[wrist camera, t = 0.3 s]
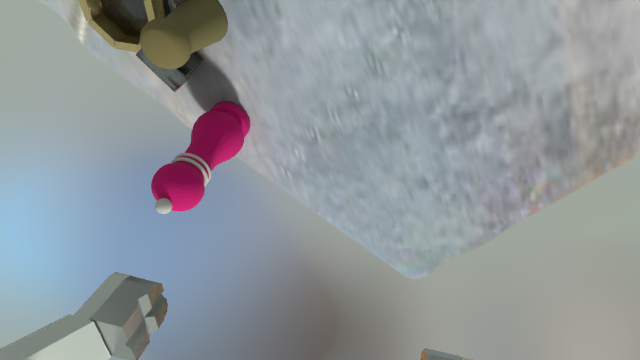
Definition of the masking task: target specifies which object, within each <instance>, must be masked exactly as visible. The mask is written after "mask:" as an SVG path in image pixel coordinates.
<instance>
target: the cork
mask: <svg viewBox="0 0 640 360" xmlns="http://www.w3.org/2000/svg"><path fill="white" fill-rule="evenodd" d="M227 26H228V21H227V17H226V13H225V11H224V9H223V8H222V6H221V5H220V4H219V2H218V1H217V0H184V1H183V2H182V3H180V4H179V5H178V6H177V7H176V8H175V9H174V10H173V11H172V12H171V13H170V14H169V15H168V16H167V17H166V18H155V19H153V20H151V21H149V22H147V23H146V25H145V26H144V27H143V28H142V30H141V34H140V45H141V48H142V50H143V53H144V54H145V55H146V57H147V58H148V59H149V60H150V61H151V62H152V63H153V64H155V65H156V66H158V67H161V68H164V69H176V68H179V67H181V66H183V65H184V64H185V63H186V62H187V61H188V60H189V58H190V55H191V53H193V52H195V51H198V50H200V49H202V48H204V47H206V46H209V45H211V44H213V43H215V42H217V41H220V40H221V39H222V38H223V37H224V36H225V34H226V32H227Z"/></svg>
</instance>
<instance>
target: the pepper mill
mask: <svg viewBox="0 0 640 360" xmlns="http://www.w3.org/2000/svg"><path fill="white" fill-rule="evenodd" d="M249 129H250V120H249V118H248V115H247V114H246V112H245V111H244V110H243V109H242V108H241V107H240V106H238V105H236V104H234V103H231V102H220V103H218V104H216V105H215V106H214V107H213V108H212V109H211V110H210V111H209V112H206V113H204V114H203V115H201V116H200V117H199V118H198V119H197V121H196V122H195V124H194V126H193V130H192V135H191V144H190V146H189V147H188V149H187V150H186V152H185V153H181V154H179V155H177V156H176V157H175V159H174V160H172V162H171V163H170V164H167V165H164V166H163V167H161V168H160V169H159V170H158V171H157V172H156V174H155V175H154V177H153V180H152V184H151V188H152V193H153V196H154V197H155V199H156V200H157V202H156V205H155V208H156V210H157V211H158V212H159V213H162V214H166V213H168V212H169V211H171V210H173V211H186V210H189V209H191V208H193V207H195V206H196V205H197V204H198V203H199V202H200V201H201V199H202V197H203V195H204V189H205V186H206V185H207V183H208V181H209V180H210V178H211V171H212V169H213V168H214V167H215V166H217V165H218V164H220V163H222V162H224V161H226V160H229V159H230V158H232V157H234V156H235V155H236V154H237V153H238V152H239V151H240V149H241V148H242V146H243V143H244V137H245V136H246V134H247V133H248V131H249Z"/></svg>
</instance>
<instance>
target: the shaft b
mask: <svg viewBox="0 0 640 360" xmlns="http://www.w3.org/2000/svg"><path fill="white" fill-rule="evenodd" d="M136 56H137V57H138V58H139V59H140V60H141V61H142V62H143V63H145V64H146V65H147V66H148V67H149V68H150V69H151V70H152V71H153V72H154V73H155V74H156V75H157V76H158V77H159V78H160V79H161V80H162V81H163V82H165V83H166V84H167V85H168V86H169V87H170V88H171V89H172V90H173V91H174V92H175V91H177V90H178V89H179V88H180V87H181V86H182V85H183V84H184V83H185V82H186V81H187V80H188V79H189V78H188V77H187V76H188V75H189V74H190V73H191V72H192V71H193V70H194V69H195V68H196V67H197V66H198V65H199V64H200V63H201V62H202V61H203V59H202V58H201V57H200V56H199V55H198V54H197V53H196V52H193V53H191V55H190V58H189V60H188V61H187V62H186V63H185V64H184V65H183V66H181V67H179V68H176V69H164V68H161V67H158V66H156V65H155V64H153V63H152V62H151V61H150V60H149V59H148V58H147V57H146V55H145V54H144V53H143V50H142V48H141V49H140V50H139V51H138V52H137V54H136Z"/></svg>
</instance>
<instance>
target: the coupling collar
mask: <svg viewBox="0 0 640 360" xmlns="http://www.w3.org/2000/svg"><path fill="white" fill-rule="evenodd" d="M79 2H80V5H81V8H82V11H83V13H84V16H85V19H86V21H89V22H88V24H89V25H90V26H91V27H92V28H93V29H94V30H95V31H97V32H98V33H99V34H100V35H101V36H102V37H103V38H104V39H105V40H106V41H107V42H108V43H109V44H110V45H111V46H113V47H115V48H116V49H122V50H128V51H134V52H138V51H139V50H140V49H141V45H140V34H141V30H142V28H143V27H144V26H145V25H146V23H147V22H149V21H151V20H153V19H155V18H166V17H167V16H168V15H169V14H170V12H169V7H168V3H167V0H79Z"/></svg>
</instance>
